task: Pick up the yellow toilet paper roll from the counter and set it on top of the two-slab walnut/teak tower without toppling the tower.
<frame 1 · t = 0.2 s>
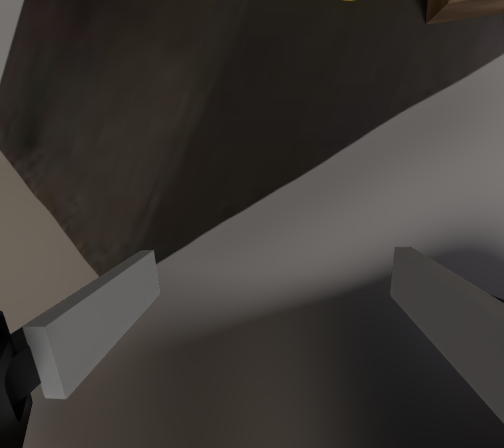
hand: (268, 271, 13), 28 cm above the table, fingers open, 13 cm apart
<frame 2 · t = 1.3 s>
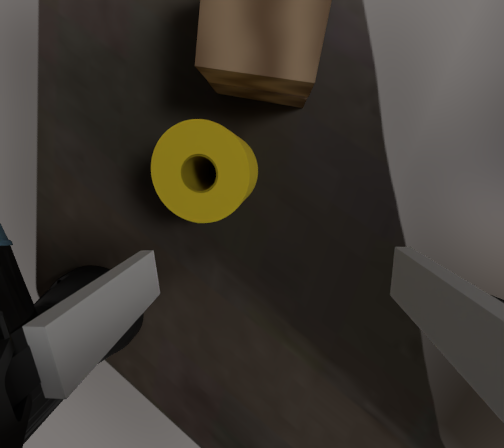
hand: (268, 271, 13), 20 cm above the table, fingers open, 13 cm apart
tower block top: (266, 30, 24), point 4 cm above the table, touching tower block bottom
yellow toilet paper roll: (221, 171, 33), on the table
tower block bottom: (268, 51, 29), on the table, touching tower block top
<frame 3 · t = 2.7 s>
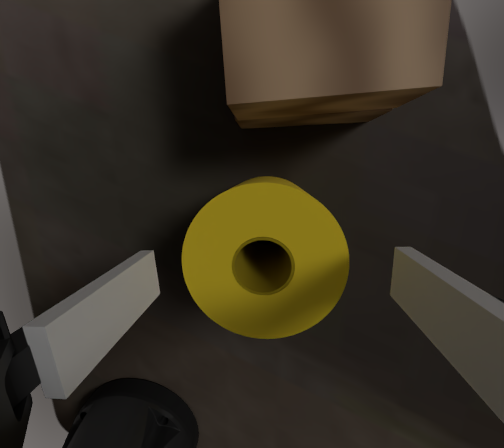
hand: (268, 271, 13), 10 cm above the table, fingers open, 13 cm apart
tower block top: (314, 24, 16), point 4 cm above the table
yellow toilet paper roll: (266, 227, 24), on the table
tower block bottom: (303, 56, 20), on the table
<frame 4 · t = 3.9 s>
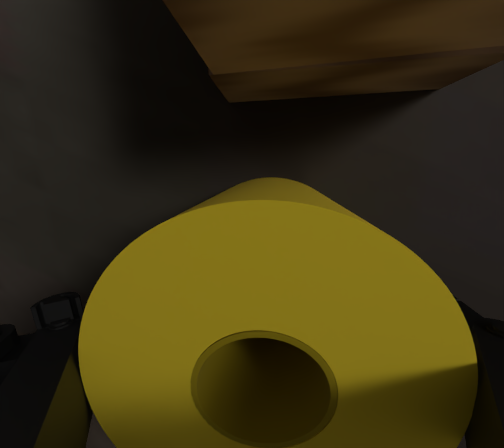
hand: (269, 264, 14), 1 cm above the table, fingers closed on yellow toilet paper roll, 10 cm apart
yellow toilet paper roll: (269, 255, 15), on the table, touching gripper
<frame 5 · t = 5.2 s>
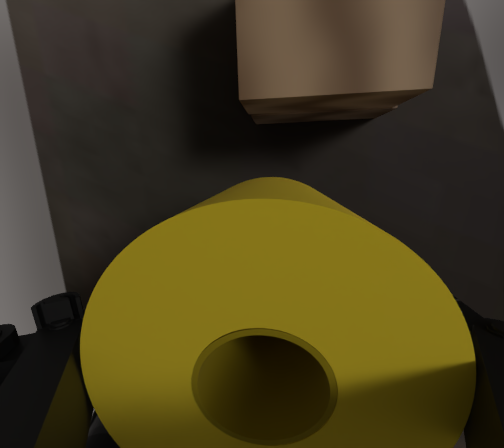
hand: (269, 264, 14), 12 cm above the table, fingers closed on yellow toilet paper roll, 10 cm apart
tower block top: (322, 26, 17), point 4 cm above the table, touching tower block bottom
yellow toilet paper roll: (270, 254, 15), point 10 cm above the table, touching gripper
tower block bottom: (315, 55, 21), on the table, touching tower block top
when the fingers open (12 cm above the table, at t = 8.5 s): yellow toilet paper roll drops 3 cm, resting on tower block top.
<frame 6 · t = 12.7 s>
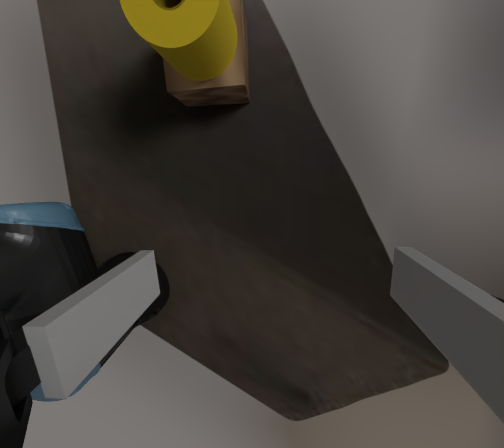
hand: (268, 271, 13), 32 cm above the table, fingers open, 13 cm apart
tower block top: (209, 57, 36), point 4 cm above the table, touching yellow toilet paper roll, tower block bottom
yellow toilet paper roll: (200, 39, 31), point 8 cm above the table, touching tower block top
tower block bottom: (216, 70, 40), on the table, touching tower block top
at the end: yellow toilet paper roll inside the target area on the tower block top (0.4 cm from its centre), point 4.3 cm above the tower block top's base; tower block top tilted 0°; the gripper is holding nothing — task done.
